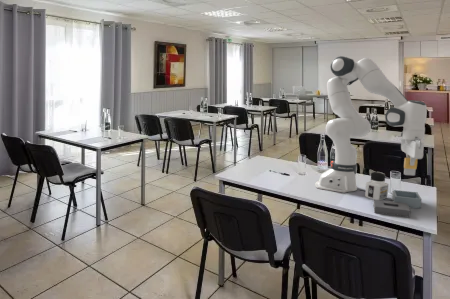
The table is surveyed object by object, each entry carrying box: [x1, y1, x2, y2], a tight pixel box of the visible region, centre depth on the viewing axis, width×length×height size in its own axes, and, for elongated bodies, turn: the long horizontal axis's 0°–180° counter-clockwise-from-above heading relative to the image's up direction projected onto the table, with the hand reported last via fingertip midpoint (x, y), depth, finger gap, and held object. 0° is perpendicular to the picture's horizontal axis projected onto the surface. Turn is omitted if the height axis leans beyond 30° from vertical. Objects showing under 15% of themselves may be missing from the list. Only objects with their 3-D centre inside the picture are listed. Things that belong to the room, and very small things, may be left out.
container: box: [364, 171, 389, 201], centre depth 171 cm, size 8×8×13 cm
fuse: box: [403, 157, 419, 176], centre depth 161 cm, size 5×2×8 cm, turn 75°
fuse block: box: [372, 199, 411, 218], centre depth 154 cm, size 14×10×3 cm
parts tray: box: [391, 189, 423, 209], centre depth 164 cm, size 11×11×4 cm
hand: (410, 164), depth 161 cm, fingers closed on fuse, 2 cm apart
